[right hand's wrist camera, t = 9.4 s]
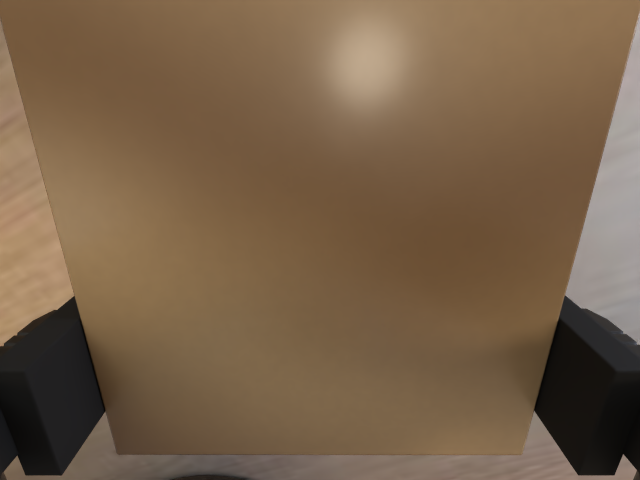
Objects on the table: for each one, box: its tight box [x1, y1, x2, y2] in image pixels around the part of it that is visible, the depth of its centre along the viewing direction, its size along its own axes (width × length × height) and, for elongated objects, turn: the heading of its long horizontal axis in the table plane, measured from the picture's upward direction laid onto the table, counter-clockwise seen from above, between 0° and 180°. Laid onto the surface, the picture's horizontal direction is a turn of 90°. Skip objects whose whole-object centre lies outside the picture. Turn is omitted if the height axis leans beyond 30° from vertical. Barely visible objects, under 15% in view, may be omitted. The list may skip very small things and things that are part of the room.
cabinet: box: [0, 0, 640, 455], centre depth 12 cm, size 17×11×11 cm, turn 0°
